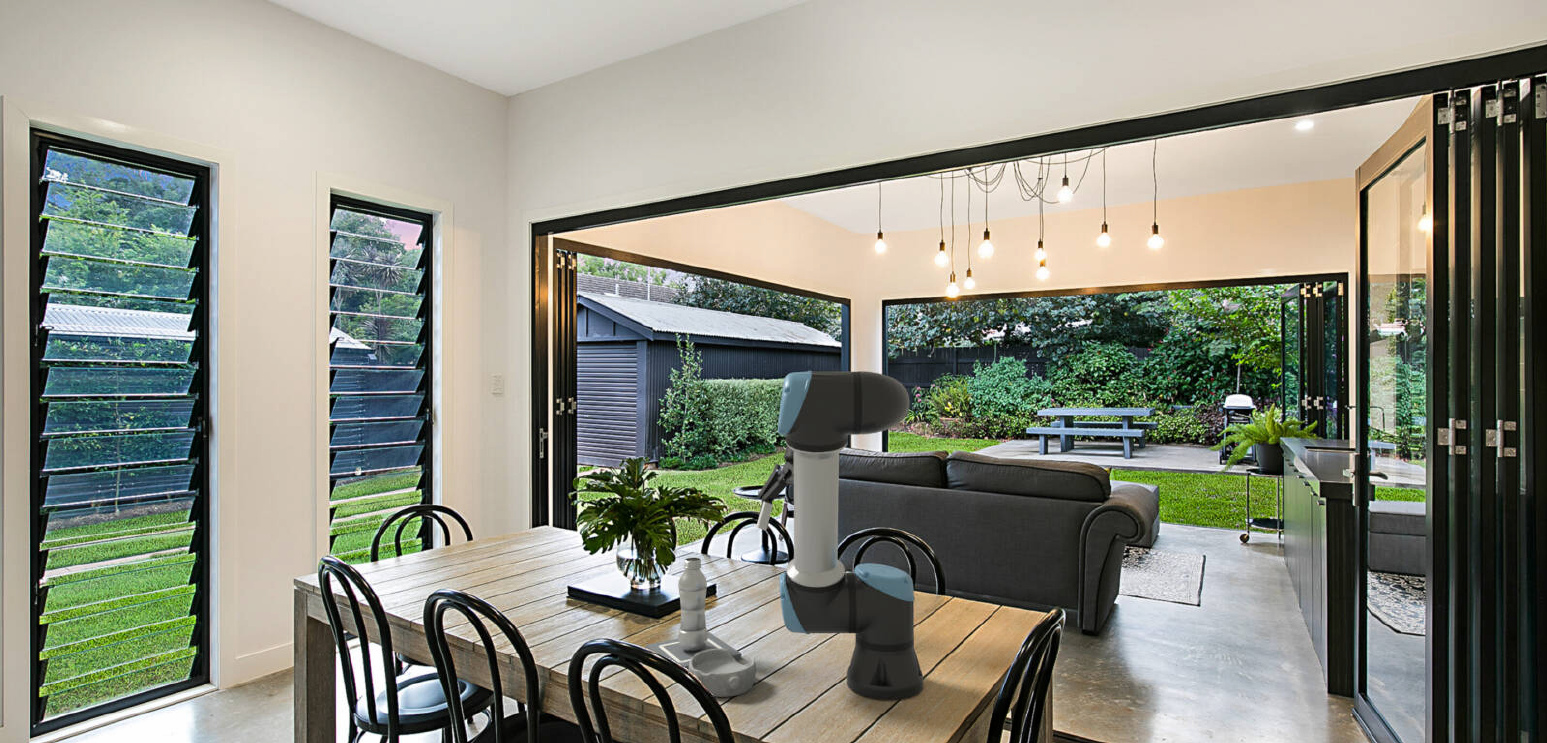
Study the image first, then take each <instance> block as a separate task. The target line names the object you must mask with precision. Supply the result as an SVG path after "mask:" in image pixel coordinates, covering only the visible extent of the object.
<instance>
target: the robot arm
mask: <svg viewBox="0 0 1547 743" xmlns="http://www.w3.org/2000/svg"><path fill="white" fill-rule="evenodd" d="M910 403H911V402H910V396H909V393H908V391H907V389H906V388H905V386H904V385H903V384H902V383H901V382H900V381H898V380H897V379H895V378H893V377H891V376H888V375H885V374H882V373H879V372H872V371H812V370H807V371H799V372H797V371H796V372H795V371H794V372H790V373H788V374H787V375H786V376H785V377H784V380H783V385H782V390H781V398H780V405H779V413H778V414H779V415H778V424H777V433H778V434H779V435H781V436H783V437H785V444H786V448H785V452H784V455H783V459H784V460H785V464H784V465H781V464H779V463H775V465H774V467H773V470H772V472H771V474H770V475H769V477H768V479H767V480H766V482H765V483H764V484H763V486H762V488H761V490H760V491H759V492H758V494H757V498H758V499H759V500H761V506H760V508H759V512H758V513H759V514H758V515H759V516H758V520H757V524H756V527H755V528H757V529H760V530H763V531H767V529H768V524H769V520H770V518H771V514H772V510H773V506H774V505H773V502H774V500H775V499H777V497H778V496H779V495H781V493H782V492H783V490H784V489H785V488H786V487H790V486H793V546H794V547H793V558H792V559H791V560H790V561H789V562H788V564H787V565H786V571H785V572H782V573H780V575H779V594H780V606H781V612H782V617H783V622H784V623H783V624H784V625H785V628H786V629H787V630H788V631H789V632H790V633H797V634H799V633H800V634H805V635H810V634H855V642H854V644H855V645H854V647H853V648H854V649H853V652H852V655H851V659H850V664H849V666H848V668H847V670H846V685H847V687H848V689H850V690H851V691H852V692H853V693H855V694H856V695H859V696H862V697H865V698H868V699H873V700H877V701H878V700H879V701H901V700H902V701H904V700H907V699H911V698H913V697H916V696H918V695H920V694H921V693H922V691H923V690H924V675H923V671H922V670H921V665H920V662H919V658H918V655H917V652H916V649H915V634H914V633H915V624H914V623H915V622H914V621H915V618H914V617H915V615H914V614H915V613H914V612H915V609H914V608H915V606H914V602H915V593H914V592H915V591H914V584H913V578H912V577H911V576H910V574H909V573H907V572H906V571H904V570H903V569H902V570H901V569H900V568H897V567H894V566H890V565H885V564H880V563H869V562H867V563H866V562H865V563H858V564H857V565H856V566H855V568H854V569H853V572H846V568H845V566H844V564H843V563H842V562H841V561H840V560H839V559H838V547H839V545H838V543H839V541H838V540H839V539H838V538H839V481H840V478H839V476H840V452H841V451H842V450H843V449H844V448H846V447H847V446H848V436H849V435H853V436H854V435H856V436H857V435H871V434H876V433H880V432H884V431H887V430H889V429H893V428H894V427H895V426H897V425H899V424H900V423H902V422H903V420H904V419H905V418H906V417H907V415H908V412H909V409H910Z"/></svg>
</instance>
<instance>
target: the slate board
mask: <svg viewBox="0 0 1547 743" xmlns="http://www.w3.org/2000/svg"><path fill="white" fill-rule="evenodd" d="M707 634H708V640H707V644H706V646H705V647H704V648H703V649H701V650H697V651H686V650H683V649H682V648H681V647H680V645H679V640H678V638H674V639H669V640H668V639H667V640H664V641H658V642H654V643H650V644H646V645H645V649H646V648H648V649H650V650H652V651H654V652H656V653H660V654H661V655H663V656H665V657H667V658H670V659H671V660H673V661H675V662H676V663H678V664H680V665H681V666H682V667H685V668H687V669H688V670H689V662H690V660H691V658H692V657H694V655H695V654H697V653H700V652H702V651H706V650H710V649H728V650H729V652H730V654H731V655H732V656H733V658H734V659H735V660H736V661H738V660H742V653H741V652H740V651H738V650H737V649H735V648H734V647H732V646H730V645H729V644H728V643H726V642H725V641H723V640H722V639H720V638H719V637H717V636H716V635H714V634H713V633H711V632H708V631H707Z"/></svg>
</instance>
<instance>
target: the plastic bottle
mask: <svg viewBox="0 0 1547 743" xmlns="http://www.w3.org/2000/svg"><path fill="white" fill-rule="evenodd" d="M701 568H702V560H701V558H700V557H687V558H684V564H683V569H685V570H684V572H682V575H681V576H680V577H679V579H678V583H677V584H678V586H677V587H678V588H677V589H678V595H679V600H680V601H679V602H680V623H679V624H680V625H679V626H680V627H679V630H678V638H677V639H678V640H679V645H680V647H681V648H682V649H683V650H686V651H697V650H701V649H703V648H704V647H705V646H706V644H707V640H708V634H707V632H708V629H707V622H706V612H705V611H706V610H705V609H706V595H707V587H708V581H707V578H706V577H705V574H704V573H703V572H702V570H701Z"/></svg>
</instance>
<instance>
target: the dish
mask: <svg viewBox="0 0 1547 743" xmlns="http://www.w3.org/2000/svg"><path fill="white" fill-rule="evenodd" d="M756 664H757V663H756V660H755V658H753V657H751V658H750V659H749V661H748V662H747V663H746V664H742V663H739V662H738V660H735V659H734V658H733V656H732V655H731V654H730V652H729V650H728V649H710V650H706V651H702V652H700V653H697V654H695V655H694V657H692V658H691V660H690V662H689V671H688V673H689V672H691V673H692V674H693V675H695V676H696V677H697V678H698V679H699V680H700V681H701V683H702V684H703V685H704V686H705V687H706V688H707V689H708V690H709V691H710V692H711V693H712V694H713V695H714V696H713V697H716V698H717V697H719V698H723V697H725V698H727V697H736V696H739V695H743V694H745V693H747V692H748V691H750V690H751V689H752V688H753V686H754V683H755V679H756V672H757V671H756V670H757V668H756V667H757V666H756Z"/></svg>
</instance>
